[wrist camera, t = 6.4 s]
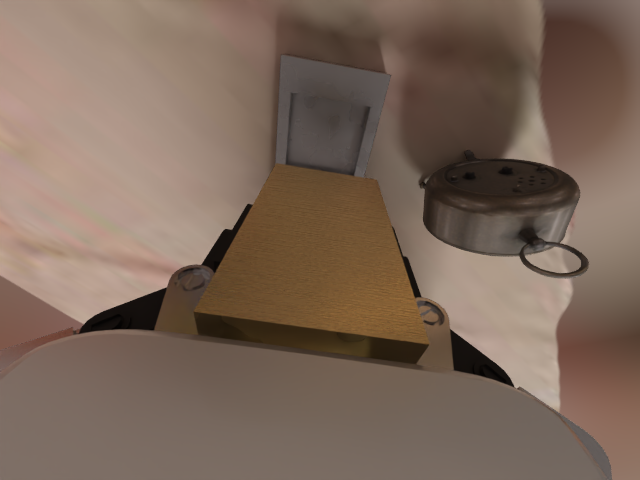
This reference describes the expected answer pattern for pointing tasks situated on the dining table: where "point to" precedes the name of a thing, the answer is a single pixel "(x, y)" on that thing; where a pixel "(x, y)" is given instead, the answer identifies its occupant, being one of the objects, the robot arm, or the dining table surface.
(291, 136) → the divided tray
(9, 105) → the dining table surface
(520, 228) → the alarm clock
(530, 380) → the dining table surface
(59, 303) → the dining table surface
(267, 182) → the brushed gold block
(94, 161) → the dining table surface
